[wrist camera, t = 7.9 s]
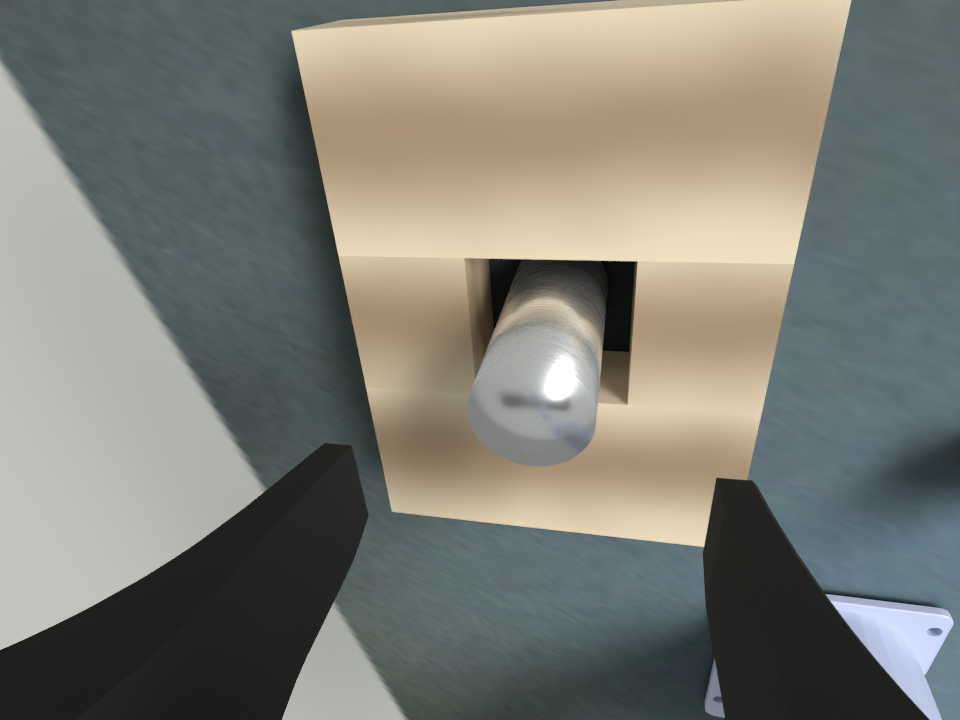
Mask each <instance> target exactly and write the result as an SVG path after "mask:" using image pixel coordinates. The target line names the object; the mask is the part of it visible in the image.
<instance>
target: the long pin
mask: <svg viewBox="0 0 960 720" xmlns="http://www.w3.org/2000/svg"><path fill="white" fill-rule="evenodd" d="M607 294H608V278H607V274H606V271H605V268H604V266H603V264H602V263H601V261H593V260H538V259H523V260H522V261H521V263H520V265H519V267H518V269H517V272H516V274H515V277H514V280H513V282H512V285H511V287H510V290H509V293H508V295H507V298H506V301H505V303H504V306H503V308H502V311H501V314H500V316H499V319H498V321H497V324H496V327H495V329H494V332H493V335H492V337H491V340H490V342H489V345H488V348H487V350H486V353H485V356H484V358H483V361H482V363H481V366H480V369H479V371H478V374H477V376H476V379H475V382H474V384H473V387H472V390H471V392H470V395H469V398H468V403H467V414H468V420H469V423H470V426H471V428H472V430H473V432H474V433H475V435H476V436H477V438H478V439H479V440H480V441H481V442H482V444H484V445H485V446H486V447H487V448H488V449H489V450H491V451H492V452H493V453H495V454H496V455H498V456H500V457H502V458H504V459H506V460H508V461H511V462H514V463H517V464H521V465H527V466H537V467H541V466H552V465H557V464H560V463H563V462H566V461H568V460H570V459H572V458H574V457H576V456H577V455H578V454H580V453H581V452H582V451H583V450H584V449H585V448H586V447H587V446H588V444H589V443H590V441H591V439H592V437H593V435H594V432H595V427H596V419H597V407H598V396H599V385H600V373H601V362H602V351H603V339H604V328H605V316H606V305H607Z"/></svg>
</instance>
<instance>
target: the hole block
mask: <svg viewBox="0 0 960 720" xmlns="http://www.w3.org/2000/svg"><path fill="white" fill-rule="evenodd" d="M850 4H851V0H619V1H605V2H591V3H577V4H562V5H548V6H534V7H520V8H506V9H492V10H477V11H463V12H449V13H435V14H421V15H407V16H392V17H378V18H364V19H350V20H340V21H335V22H330V23H326V24H321V25H317V26H312V27H308V28H303V29H298V30H294V31H292V35H293V40H294V45H295V50H296V54H297V59H298V64H299V69H300V74H301V78H302V83H303V88H304V93H305V97H306V102H307V107H308V112H309V117H310V121H311V126H312V131H313V136H314V141H315V145H316V150H317V155H318V160H319V165H320V169H321V174H322V179H323V184H324V188H325V193H326V198H327V203H328V208H329V212H330V217H331V222H332V227H333V232H334V236H335V241H336V246H337V251H338V255H339V260H340V265H341V270H342V275H343V279H344V284H345V289H346V294H347V299H348V303H349V308H350V313H351V318H352V323H353V327H354V332H355V337H356V342H357V346H358V351H359V356H360V361H361V366H362V370H363V375H364V380H365V385H366V390H367V394H368V399H369V404H370V409H371V414H372V418H373V423H374V428H375V433H376V437H377V442H378V447H379V452H380V457H381V461H382V466H383V471H384V476H385V481H386V485H387V490H388V495H389V500H390V504H391V509H392V512H399V513H408V514H417V515H425V516H434V517H443V518H452V519H461V520H470V521H479V522H488V523H497V524H506V525H514V526H523V527H532V528H541V529H550V530H559V531H568V532H577V533H586V534H595V535H603V536H612V537H621V538H630V539H639V540H648V541H657V542H666V543H675V544H684V545H692V546H701V547H704V545H705V539H706V534H707V528H708V522H709V517H710V511H711V505H712V500H713V494H714V488H715V483H716V478H727V479H738V480H747V478H748V474H749V469H750V464H751V460H752V455H753V451H754V446H755V441H756V437H757V432H758V428H759V423H760V418H761V414H762V409H763V405H764V400H765V395H766V391H767V386H768V382H769V377H770V372H771V368H772V363H773V358H774V354H775V349H776V345H777V340H778V335H779V331H780V326H781V322H782V317H783V312H784V308H785V303H786V299H787V294H788V289H789V285H790V280H791V276H792V271H793V266H794V262H795V257H796V253H797V248H798V243H799V239H800V234H801V230H802V225H803V220H804V216H805V211H806V207H807V202H808V197H809V193H810V188H811V184H812V179H813V174H814V170H815V165H816V161H817V156H818V151H819V147H820V142H821V137H822V133H823V128H824V124H825V119H826V114H827V110H828V105H829V101H830V96H831V91H832V87H833V82H834V78H835V73H836V68H837V64H838V59H839V55H840V50H841V45H842V41H843V36H844V32H845V27H846V22H847V18H848V13H849V9H850ZM489 259H538V260H593V261H635V268H634V283H633V297H632V312H631V327H630V342H629V352H621V351H602V362H601V373H600V385H599V396H598V407H597V419H596V427H595V432H594V435H593V437H592V439H591V441H590V443H589V444H588V446H587V447H586V448H585V449H584V450H583V451H582V452H581V453H580V454H578V455H577V456H576V457H574V458H572V459H570V460H568V461H566V462H563V463H560V464H557V465H552V466H541V467H537V466H527V465H521V464H517V463H514V462H511V461H508V460H506V459H504V458H502V457H500V456H498V455H496V454H495V453H493V452H492V451H491V450H489V449H488V448H487V447H486V446H485V445H484V444H482V442H481V441H480V440H479V439H478V438H477V436H476V435H475V433H474V432H473V430H472V428H471V426H470V423H469V420H468V414H467V403H468V398H469V395H470V392H471V390H472V387H473V384H474V382H475V379H476V376H477V374H478V371H479V369H480V366H481V363H482V361H483V358H484V356H485V353H486V350H487V348H488V345H489V342H490V340H491V337H492V335H493V332H494V326H493V311H492V297H491V282H490V268H489Z"/></svg>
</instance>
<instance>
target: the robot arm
mask: <svg viewBox="0 0 960 720" xmlns="http://www.w3.org/2000/svg"><path fill="white" fill-rule="evenodd" d="M367 518H368V511H367V507H366V503H365V499H364V495H363V491H362V487H361V482H360V478H359V474H358V470H357V466H356V462H355V458H354V453H353V449H352V446H350V445H339V444H327V443H325V444H323V445H322V446H321V447H319V448H318V449H317V450H316V451H314V452H313V453H312V454H311V455H309V456H308V457H307V458H306V459H304V460H303V461H302V462H301V463H300V464H298V465H297V466H296V467H295V468H293V469H292V470H291V471H290V472H289V473H287V474H286V475H285V476H284V477H283V478H281V479H280V480H279V481H278V482H276V483H275V484H274V485H273V486H271V487H270V488H269V489H268V490H266V491H265V492H264V493H263V494H262V495H260V496H259V497H258V498H257V499H255V500H254V501H253V502H251V503H250V504H249V505H248V506H247V507H245V508H244V509H243V510H241V511H240V512H239V513H237V514H236V515H235V516H233V517H232V518H230V519H229V520H228V521H226V522H225V523H224V524H222V525H221V526H220V527H218V528H217V529H216V530H214V531H213V532H211V533H210V534H209V535H207V536H206V537H205V538H203V539H202V540H201V541H199V542H198V543H196V544H195V545H193V546H192V547H191V548H189V549H188V550H186V551H185V552H183V553H182V554H180V555H179V556H177V557H176V558H174V559H172V560H171V561H169V562H168V563H166V564H165V565H163V566H161V567H160V568H158V569H157V570H155V571H153V572H152V573H150V574H149V575H147V576H145V577H144V578H142V579H140V580H139V581H137V582H135V583H133V584H131V585H130V586H128V587H126V588H124V589H123V590H121V591H119V592H117V593H115V594H114V595H112V596H110V597H108V598H106V599H104V600H103V601H101V602H99V603H97V604H95V605H94V606H92V607H90V608H88V609H86V610H84V611H82V612H81V613H79V614H77V615H74V616H73V617H70V618H69V619H66V620H64V621H62V622H60V623H58V624H56V625H54V626H52V627H50V628H48V629H46V630H44V631H42V632H39V633H37V634H35V635H33V636H31V637H29V638H27V639H25V640H22V641H20V642H18V643H16V644H13V645H11V646H9V647H7V648H4V649H2V650H0V720H282V717H283V715H284V712H285V709H286V707H287V704H288V701H289V698H290V696H291V693H292V690H293V688H294V685H295V683H296V680H297V678H298V675H299V673H300V671H301V668H302V666H303V664H304V662H305V659H306V657H307V655H308V653H309V651H310V649H311V647H312V645H313V643H314V641H315V639H316V637H317V635H318V633H319V631H320V629H321V627H322V625H323V622H324V620H325V618H326V616H327V614H328V612H329V610H330V608H331V606H332V604H333V602H334V600H335V598H336V596H337V594H338V592H339V590H340V588H341V586H342V583H343V581H344V579H345V577H346V575H347V573H348V571H349V569H350V567H351V564H352V562H353V560H354V557H355V554H356V552H357V549H358V546H359V543H360V540H361V537H362V534H363V531H364V528H365V525H366V521H367ZM703 563H704V583H705V599H706V610H707V616H708V622H709V628H710V634H711V640H712V646H713V652H714V657H715V658H714V662H713V667H712V671H711V675H710V680H709V684H708V689H707V693H706V698H705V711H706V712H707V713H708V714H710V715H713V716H718V717H724V718H725V720H942V718H941V716H940V713H939V711H938V708H937V706H936V703H935V701H934V698H933V696H932V693H931V691H930V688H929V685H928V683H927V680H926V678H925V674H926V673H927V671H928V669H929V667H930V665H931V664H932V662H933V660H934V658H935V656H936V655H937V653H938V651H939V649H940V647H941V646H942V644H943V642H944V640H945V638H946V637H947V635H948V633H949V631H950V629H951V628H952V626H953V619H952V617H951V615H950V613H949V612H948V611H946V610H945V609H941V608H937V607H928V606H920V605H912V604H904V603H896V602H888V601H880V600H871V599H863V598H855V597H847V596H839V595H831V594H825V593H824V592H823V590H822V589H821V587H820V586H819V584H818V583H817V582H816V580H815V579H814V577H813V576H812V574H811V573H810V571H809V570H808V568H807V567H806V566H805V564H804V563H803V561H802V560H801V558H800V557H799V555H798V554H797V552H796V551H795V549H794V548H793V546H792V544H791V543H790V541H789V540H788V538H787V537H786V535H785V533H784V532H783V530H782V528H781V527H780V525H779V524H778V522H777V520H776V519H775V517H774V515H773V513H772V512H771V510H770V508H769V507H768V505H767V503H766V501H765V499H764V498H763V496H762V494H761V492H760V490H759V488H758V487H757V485H756V484H755V483H754V482H753V481H750V480H738V479H727V478H716V483H715V488H714V494H713V500H712V505H711V511H710V517H709V522H708V528H707V534H706V539H705V545H704V551H703Z"/></svg>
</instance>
